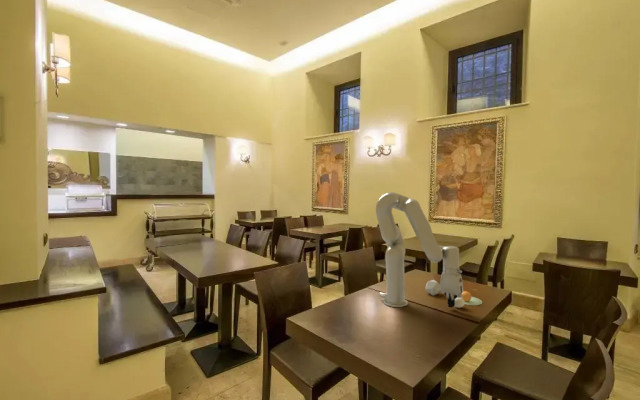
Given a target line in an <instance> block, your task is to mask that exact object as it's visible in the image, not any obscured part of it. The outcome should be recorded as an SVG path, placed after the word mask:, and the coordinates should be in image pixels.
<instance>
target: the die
mask: <svg viewBox="0 0 640 400" xmlns="http://www.w3.org/2000/svg"><path fill="white" fill-rule="evenodd" d="M424 289H425V291H426V292H427V293H428V294H430V295H431V296H435V295H438V294H439V293H441V289H440V283H439V282H437V281H436V280H435V279H431V280H428V281H427V282H426V284H425V288H424Z"/></svg>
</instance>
